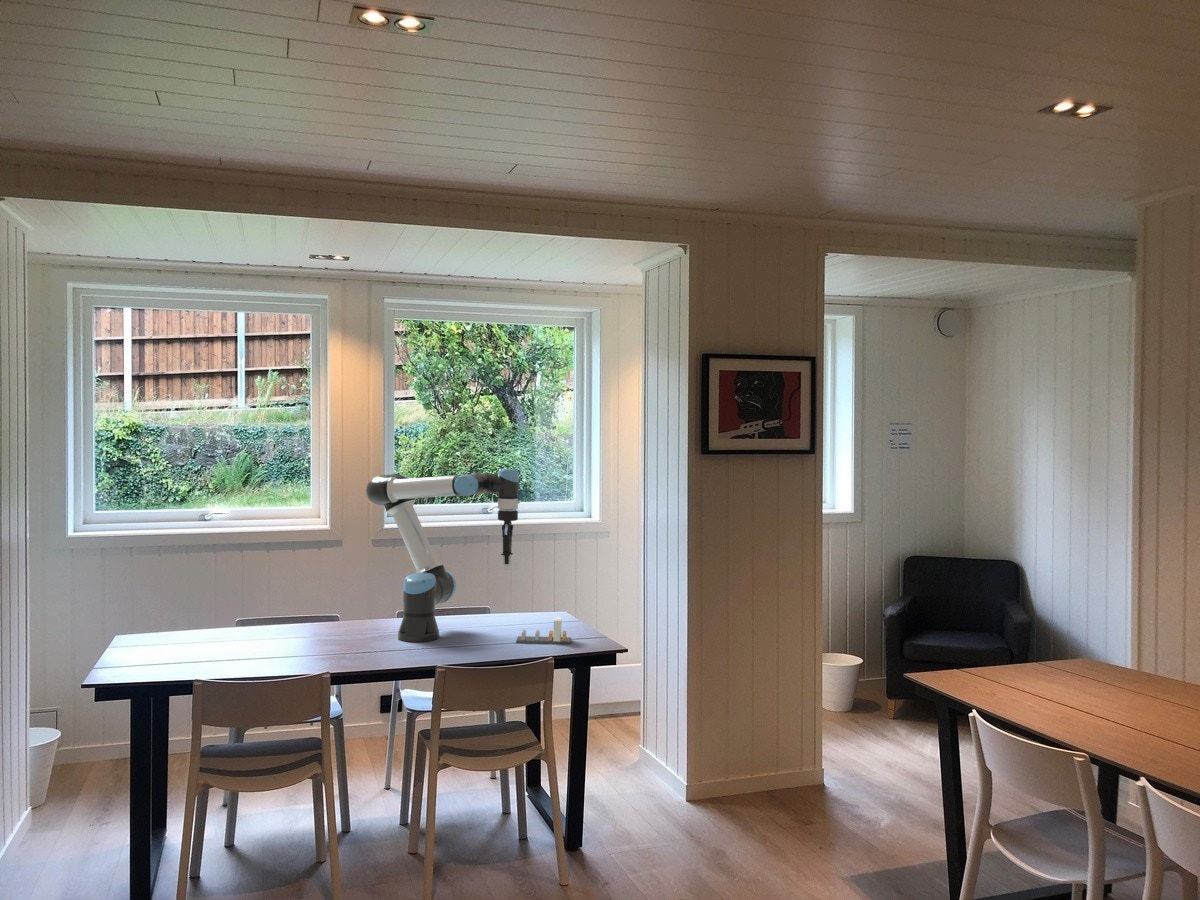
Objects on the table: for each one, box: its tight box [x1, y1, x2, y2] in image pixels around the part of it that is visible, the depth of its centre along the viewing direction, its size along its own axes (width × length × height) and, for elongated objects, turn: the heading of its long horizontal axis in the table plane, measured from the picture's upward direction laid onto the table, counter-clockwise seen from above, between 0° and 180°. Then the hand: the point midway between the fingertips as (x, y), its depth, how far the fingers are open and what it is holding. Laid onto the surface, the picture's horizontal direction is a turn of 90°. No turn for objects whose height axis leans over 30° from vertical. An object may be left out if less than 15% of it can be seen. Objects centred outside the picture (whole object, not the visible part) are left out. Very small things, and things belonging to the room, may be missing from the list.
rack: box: [515, 629, 572, 645], centre depth 348 cm, size 20×7×4 cm, turn 90°
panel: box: [553, 616, 562, 641], centre depth 348 cm, size 2×8×8 cm, turn 0°
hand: (506, 572), depth 354 cm, fingers closed
